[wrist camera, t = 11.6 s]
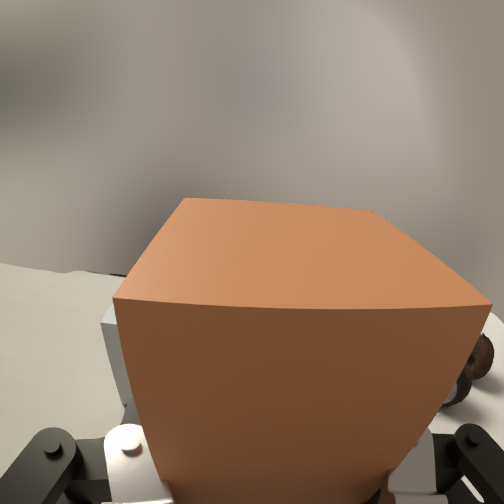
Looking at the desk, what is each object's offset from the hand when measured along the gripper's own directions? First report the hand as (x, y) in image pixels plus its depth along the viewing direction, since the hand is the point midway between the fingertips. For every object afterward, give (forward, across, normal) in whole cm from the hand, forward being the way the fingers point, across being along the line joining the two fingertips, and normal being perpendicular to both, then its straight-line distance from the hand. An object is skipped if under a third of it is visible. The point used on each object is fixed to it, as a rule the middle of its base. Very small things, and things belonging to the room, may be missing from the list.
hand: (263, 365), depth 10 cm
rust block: (-3, 0, +6) cm, 7 cm away
